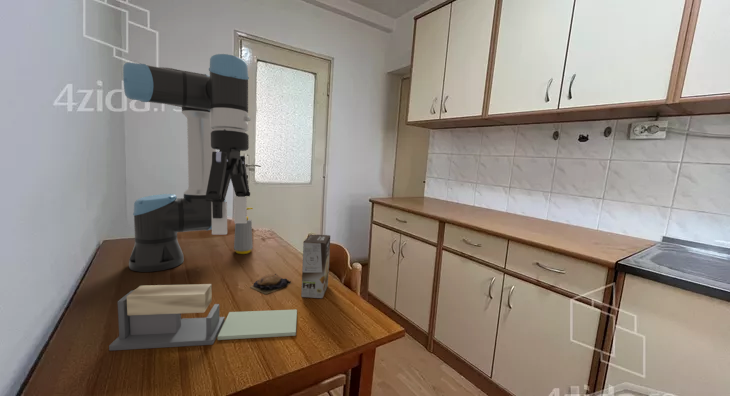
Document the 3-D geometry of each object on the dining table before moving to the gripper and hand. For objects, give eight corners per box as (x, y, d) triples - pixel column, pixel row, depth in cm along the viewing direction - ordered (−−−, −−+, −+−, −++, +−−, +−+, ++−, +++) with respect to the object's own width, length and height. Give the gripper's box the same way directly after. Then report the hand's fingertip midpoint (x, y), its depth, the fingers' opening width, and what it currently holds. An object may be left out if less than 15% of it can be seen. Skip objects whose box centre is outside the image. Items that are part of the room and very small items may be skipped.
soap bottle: (248, 255, 116) (249, 209, 113) (230, 253, 116) (230, 208, 113) (255, 249, 123) (256, 206, 120) (238, 248, 123) (238, 205, 120)
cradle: (135, 324, 67) (133, 286, 65) (224, 320, 70) (224, 284, 69) (109, 350, 58) (106, 306, 57) (213, 344, 61) (212, 303, 60)
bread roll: (266, 297, 84) (266, 284, 84) (247, 288, 89) (247, 276, 88) (294, 285, 93) (294, 273, 93) (276, 277, 98) (276, 266, 97)
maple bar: (140, 303, 64) (140, 285, 64) (211, 301, 67) (211, 284, 67) (127, 315, 59) (126, 296, 59) (204, 312, 62) (204, 294, 62)
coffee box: (323, 299, 84) (325, 243, 82) (300, 297, 84) (302, 241, 82) (328, 285, 93) (330, 235, 91) (307, 283, 93) (309, 233, 91)
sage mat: (229, 315, 73) (229, 312, 73) (296, 312, 76) (296, 309, 76) (217, 339, 63) (217, 336, 63) (295, 335, 66) (295, 332, 66)
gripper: (227, 122, 53) (229, 240, 55) (261, 138, 78) (261, 219, 80) (183, 120, 52) (186, 240, 54) (231, 137, 77) (232, 219, 79)
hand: (231, 228), depth 67 cm, fingers open, 13 cm apart
